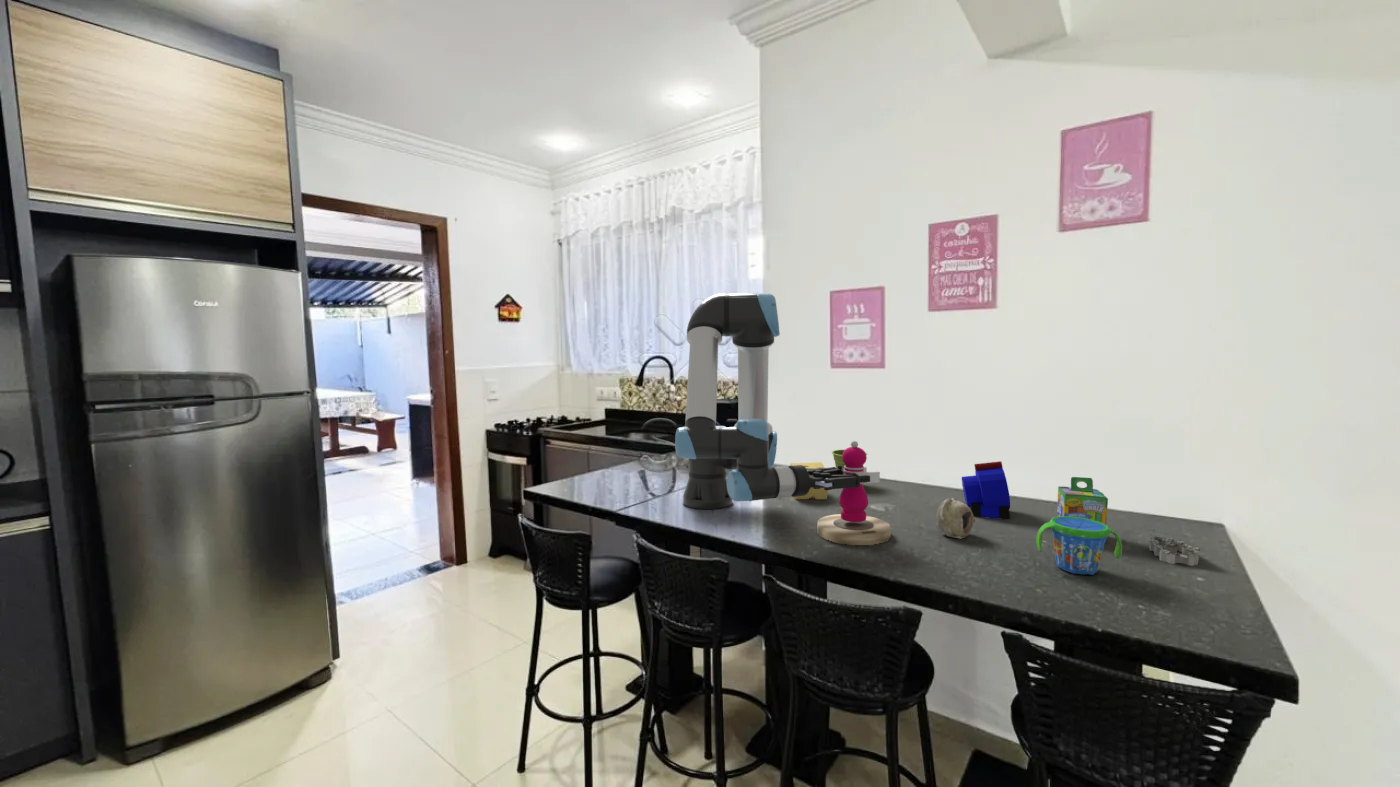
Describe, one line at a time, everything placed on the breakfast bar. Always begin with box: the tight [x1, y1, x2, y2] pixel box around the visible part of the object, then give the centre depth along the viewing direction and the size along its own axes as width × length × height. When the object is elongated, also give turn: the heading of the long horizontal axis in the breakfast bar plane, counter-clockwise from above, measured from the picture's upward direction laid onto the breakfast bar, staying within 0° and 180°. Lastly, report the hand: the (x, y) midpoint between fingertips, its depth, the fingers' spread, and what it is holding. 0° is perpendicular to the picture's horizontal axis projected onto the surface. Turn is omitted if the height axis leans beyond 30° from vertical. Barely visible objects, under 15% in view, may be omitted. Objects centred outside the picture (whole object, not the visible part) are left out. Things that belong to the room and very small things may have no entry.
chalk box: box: [1056, 476, 1109, 525], centre depth 146 cm, size 9×9×15 cm
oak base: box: [816, 513, 891, 546], centre depth 150 cm, size 18×18×3 cm
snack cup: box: [1035, 516, 1123, 576], centre depth 125 cm, size 16×10×10 cm
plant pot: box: [831, 449, 868, 470], centre depth 201 cm, size 12×12×11 cm
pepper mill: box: [838, 440, 869, 522], centre depth 149 cm, size 7×7×20 cm
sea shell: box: [935, 497, 977, 540], centre depth 148 cm, size 9×8×10 cm
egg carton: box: [1148, 533, 1201, 567], centre depth 132 cm, size 11×8×4 cm
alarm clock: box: [961, 461, 1011, 520], centre depth 168 cm, size 12×12×15 cm
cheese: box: [789, 461, 829, 500], centre depth 188 cm, size 10×11×10 cm
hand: (871, 474), depth 150 cm, fingers open, 5 cm apart
